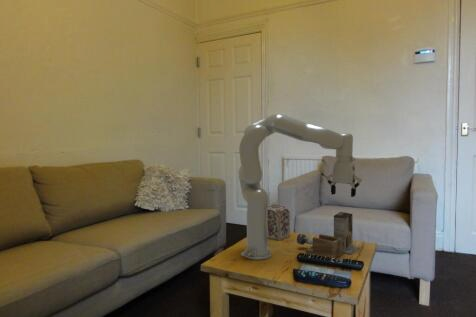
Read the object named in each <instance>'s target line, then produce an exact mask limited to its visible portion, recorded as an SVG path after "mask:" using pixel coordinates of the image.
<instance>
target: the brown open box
mask: <svg viewBox="0 0 476 317" xmlns="http://www.w3.org/2000/svg"><path fill="white" fill-rule="evenodd" d="M312 238H313V245H311V246H310V247H309V248H307V249H306V250H305V254H307V255H311V254H313V255H312V256H315V255H318V256H317V257H319V256H326V257H331V258H336V259H338V258H340V256H342V255H344V253H343V238H338V237H334V235H328V234H321V233H320V234H319V235H318V237H312Z"/></svg>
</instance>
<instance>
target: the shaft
mask: <svg viewBox="0 0 476 317" xmlns="http://www.w3.org/2000/svg"><path fill="white" fill-rule="evenodd" d="M313 238H314V237H309V236H306V234H303V233H299V234H298V235H297V238H296V243H297V244H298V245H303V246H304V245H306V244H308V245H311V246H313Z"/></svg>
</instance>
